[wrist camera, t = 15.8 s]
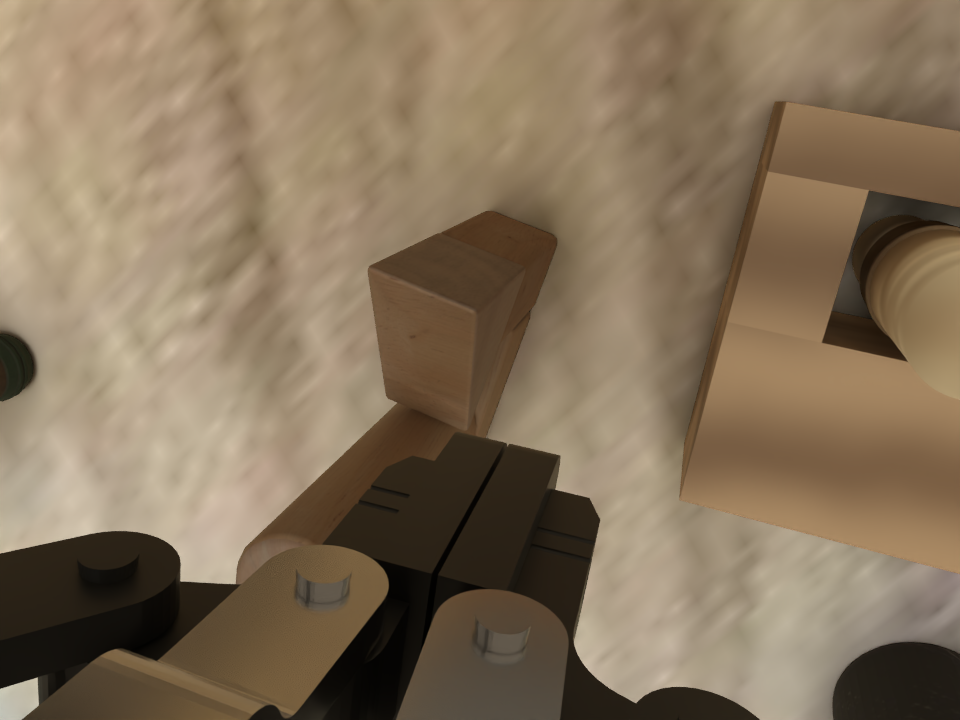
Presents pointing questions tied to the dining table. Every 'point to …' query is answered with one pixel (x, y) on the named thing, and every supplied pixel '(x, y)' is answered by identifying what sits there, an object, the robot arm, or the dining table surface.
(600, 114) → the dining table surface
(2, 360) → the potato masher grenade
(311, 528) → the wooden block
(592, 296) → the dining table surface
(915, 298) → the peg
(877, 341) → the seat block
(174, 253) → the dining table surface
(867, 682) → the travel mug
